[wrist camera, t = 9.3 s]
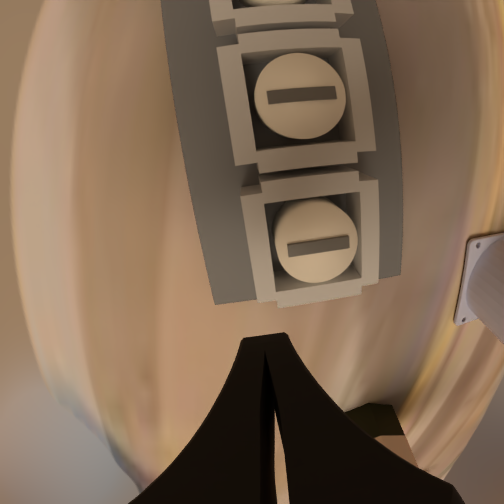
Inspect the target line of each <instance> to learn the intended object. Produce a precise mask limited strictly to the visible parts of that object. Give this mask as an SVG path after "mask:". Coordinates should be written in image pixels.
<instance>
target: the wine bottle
mask: <svg viewBox="0 0 504 504" xmlns="http://www.w3.org/2000/svg"><path fill="white" fill-rule="evenodd" d="M345 413H346V414H347V415H348V416H349V417H350V418H351V419H352V420H353V421H354V422H355V423H356V424H357V425H359V426H360V427H361V428H362V429H363V430H364V431H366V432H367V433H368V434H369V435H370V436H372V437H373V438H374V439H376V440H377V441H378V442H380V443H381V444H383V445H384V446H385V447H387V448H388V449H390V450H391V451H392V452H394V453H395V454H397V455H398V456H400V457H401V458H403V459H404V460H406V461H408V462H409V463H411V464H413V465H414V466H416V467H418V465H417V463H416V460H415V458H414V456H413V453H412V451H411V448H410V446H409V444H408V441H407V439H406V437H405V434H404V432H403V430H402V427H401V425H400V423H399V420H398V418H397V416H396V414H395V411H394V409H393V407H392V405H382V404H371V403H368V404H365V405H363V406H361V407H358V408H356V409H353V410H351V411H348V412H345Z"/></svg>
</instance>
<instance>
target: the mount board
mask: <svg viewBox="0 0 504 504" xmlns="http://www.w3.org/2000/svg"><path fill="white" fill-rule="evenodd" d="M161 8H162V17H163V26H164V34H165V42H166V50H167V57H168V65H169V72H170V79H171V85H172V92H173V98H174V105H175V111H176V117H177V123H178V129H179V135H180V141H181V146H182V152H183V157H184V163H185V168H186V174H187V179H188V184H189V189H190V194H191V199H192V204H193V209H194V214H195V219H196V224H197V228H198V233H199V238H200V242H201V247H202V251H203V256H204V260H205V265H206V269H207V273H208V278H209V282H210V286H211V291H212V295H213V299H214V303H215V305H218V304H226V303H234V302H241V301H248V300H256V299H257V302H258V303H262V302H269V301H277V306H278V308H284V307H290V306H297V305H303V304H309V303H315V302H321V301H327V300H333V299H338V298H344V297H349V296H355V295H360V294H361V286H366V285H371V284H376V283H378V279H383V278H388V277H393V276H398V275H401V260H402V238H403V180H402V158H401V144H400V132H399V122H398V113H397V104H396V97H395V90H394V83H393V77H392V71H391V65H390V60H389V55H388V50H387V45H386V40H385V36H384V32H383V27H382V23H381V19H380V15H379V12H378V8H377V4H376V1H375V0H306V2H305V3H304V4H289V5H271V6H259V7H249V8H246V7H245V6H244V5H242V4H241V3H240V1H239V0H161ZM290 53H305V54H310V55H313V56H316V57H318V58H320V59H322V60H324V61H325V62H327V63H328V64H329V65H330V66H331V67H333V69H334V70H335V71H336V72H337V73H338V75H339V76H340V78H341V80H342V82H343V85H344V88H345V93H346V104H345V109H344V112H343V115H342V117H341V119H340V120H339V122H338V123H337V124H336V125H335V126H334V128H332V129H331V130H330V131H329V132H327V133H325V134H323V135H321V136H319V137H315V138H310V139H296V138H287V137H283V136H280V135H277V134H275V133H273V132H272V131H270V130H269V129H268V128H266V127H265V126H264V125H263V124H262V122H261V121H260V120H259V118H258V116H257V114H256V111H255V108H254V102H253V97H254V91H255V87H256V83H257V80H258V77H259V75H260V73H261V72H262V70H263V69H264V68H265V67H266V65H267V64H268V63H270V62H271V61H272V60H274V59H276V58H277V57H280V56H282V55H286V54H290ZM318 196H324V197H326V198H327V199H329V200H330V201H332V202H333V203H334V204H335V205H336V206H338V207H339V208H340V209H341V210H342V211H343V212H345V213H346V214H347V215H348V216H349V217H350V219H351V220H352V222H353V223H354V225H355V228H356V231H357V237H358V245H357V250H356V253H355V256H354V258H353V260H352V262H351V263H350V265H349V266H348V267H347V268H346V269H345V270H344V271H343V272H342V273H341V274H340V275H338V276H336V277H335V278H333V279H331V280H328V281H324V282H319V283H309V282H304V281H300V280H298V279H296V278H294V277H293V276H291V275H290V274H289V273H288V272H287V271H286V270H285V269H284V268H283V266H282V265H281V263H280V261H279V258H278V254H277V251H276V247H275V243H274V239H273V235H272V225H273V221H274V218H275V215H276V213H277V212H278V210H279V209H280V207H281V206H282V205H283V204H284V203H285V202H286V201H288V200H295V199H302V198H310V197H318Z"/></svg>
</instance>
